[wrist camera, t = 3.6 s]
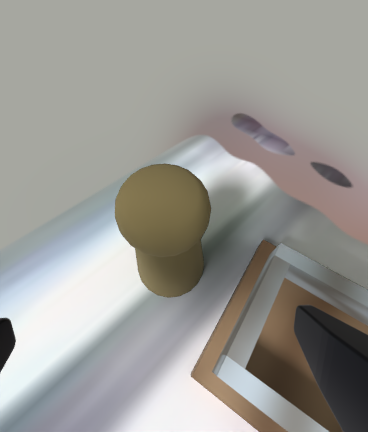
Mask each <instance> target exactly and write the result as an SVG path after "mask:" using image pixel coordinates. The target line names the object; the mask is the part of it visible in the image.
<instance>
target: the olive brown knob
mask: <svg viewBox="0 0 368 432" xmlns="http://www.w3.org/2000/svg"><path fill="white" fill-rule="evenodd" d="M210 213H211V206H210V201H209V196H208V192H207V190H206V188H205V187H204V185H203V184H202V182H201V181H200V180H199V179H198V178H197V177H196V176H195V175H194V174H192V173H191V172H190V171H189V170H187V169H184V168H182V167H180V166H177V165H170V164H156V165H151V166H148V167H145V168H141V169H140V170H138V171H137V172H135V173H133V174H132V175H131V176H130V177H129V178H128V179H127V180H126V181H125V182H124V183H123V185H122V186H121V188H120V190H119V193H118V195H117V197H116V200H115V219H116V222H117V225H118V228H119V230H120V232H121V234H122V235H123V237H124V238H125V239H126V240H127V241H128V242H129V244H130V245H131V246H133V247H134V248H135V251H136V258H137V265H138V272H139V275H140V278H141V280H142V282H143V283H144V285H145V286H146V287H147V288H148V290H150V291H152V292H153V293H155V294H157V295H159V296H164V297H177V296H181V295H183V294H185V293H187V292H189V291H191V290H192V289H193V288H194V287H195V286H196V285H197V284H198V282H199V280H200V278H201V276H202V274H203V268H204V260H203V253H202V246H201V238H202V236H203V234H204V232H205V231H206V229H207V227H208V224H209V219H210Z"/></svg>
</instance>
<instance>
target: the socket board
mask: <svg viewBox="0 0 368 432" xmlns="http://www.w3.org/2000/svg"><path fill="white" fill-rule="evenodd" d="M299 305H312V306H314V307H316V308H318V309H320V310H322V311H324V312H325V313H327V314H329V315H331V316H333V317H335V318H337V319H339V320H341V321H343V322H344V323H346V324H348V325H350V326H352V327H354V328H356V329H358V330H360V331H362V332H363V333H365V334H367V335H368V290H367V289H365V288H364V287H362V286H360V285H358V284H356V283H354V282H352V281H351V280H349V279H347V278H345V277H343V276H341V275H339V274H338V273H336V272H334V271H332V270H330V269H328V268H327V267H325V266H323V265H321V264H319V263H317V262H315V261H314V260H312V259H310V258H308V257H306V256H304V255H302V254H301V253H299V252H297V251H295V250H293V249H291V248H290V247H288V246H286V245H284V244H282V243H280V244H279V245H278V246H277V247H276V246H274V245H272V244H271V243H269V242H267V241H265V240H263V241H262V242H261V244H260V245H259V246H258V248H257V250H256V252H255V254H254V256H253V258H252V259H251V261H250V263H249V265H248V267H247V269H246V271H245V273H244V274H243V276H242V278H241V280H240V282H239V284H238V286H237V288H236V290H235V291H234V293H233V295H232V297H231V299H230V301H229V303H228V305H227V307H226V308H225V310H224V312H223V314H222V316H221V318H220V320H219V322H218V323H217V325H216V327H215V329H214V331H213V333H212V335H211V337H210V339H209V340H208V342H207V344H206V346H205V348H204V350H203V352H202V354H201V355H200V357H199V359H198V361H197V363H196V365H195V367H194V369H193V371H192V372H191V377H192V378H194V379H195V380H196V381H197V382H198V383H200V384H201V385H202V386H203V387H205V388H206V389H207V390H208V391H210V392H211V393H212V394H213V395H215V396H216V397H217V398H218V399H219V400H221V401H222V402H223V403H224V404H226V405H227V406H228V407H229V408H231V409H232V410H233V411H234V412H235V413H237V414H238V415H239V416H240V417H242V418H243V419H244V420H245V421H247V422H248V423H249V424H250V425H251V426H253V427H254V428H255V429H256V430H258V431H259V432H343V430H342V429H341V427H340V425H339V423H338V421H337V420H336V418H335V416H334V414H333V412H332V411H331V409H330V407H329V405H328V403H327V402H326V400H325V398H324V396H323V394H322V392H321V390H320V389H319V387H318V384H317V382H316V380H315V378H314V376H313V374H312V371H311V369H310V367H309V365H308V362H307V360H306V358H305V356H304V353H303V351H302V349H301V347H300V345H299V342H298V340H297V338H296V335H295V333H294V320H295V312H296V308H297V306H299Z"/></svg>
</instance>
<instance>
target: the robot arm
mask: <svg viewBox="0 0 368 432" xmlns="http://www.w3.org/2000/svg"><path fill="white" fill-rule="evenodd" d="M294 333H295V335H296V338H297V340H298V342H299V345H300V347H301V349H302V351H303V353H304V356H305V358H306V360H307V362H308V365H309V367H310V369H311V371H312V374H313V376H314V378H315V380H316V382H317V384H318V387H319V389H320V390H321V392H322V394H323V396H324V398H325V400H326V402H327V403H328V405H329V407H330V409H331V411H332V412H333V414H334V416H335V418H336V420H337V421H338V423H339V425H340V427H341V429H342V430H343V432H368V335H367V334H365V333H363V332H362V331H360V330H358V329H356V328H354V327H352V326H350V325H348V324H346V323H344V322H343V321H341V320H339V319H337V318H335V317H333V316H331V315H329V314H327V313H325V312H324V311H322V310H320V309H318V308H316V307H314V306H312V305H299V306H297V308H296V312H295V320H294ZM15 342H16V339H15V335H14V331H13V327H12V324H11V321H10V320H9V319H8V318H0V372H1V370H2V369H3V367H4V365H5V363H6V361H7V360H8V358H9V356H10V354H11V352H12V351H13V349H14V346H15Z"/></svg>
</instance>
